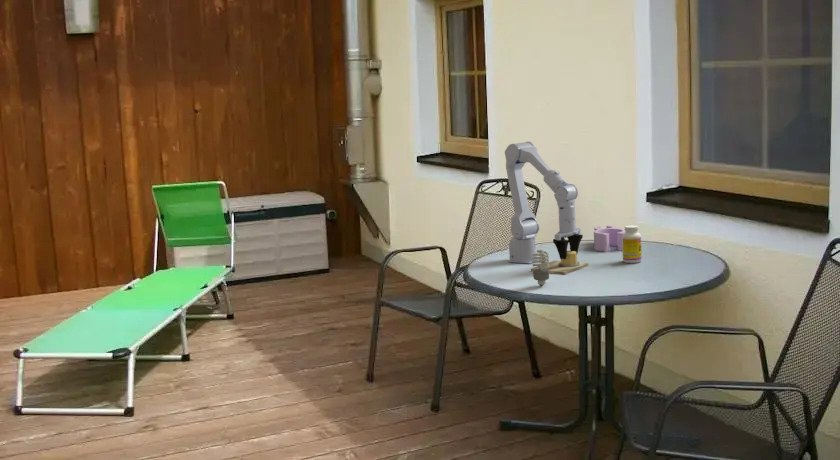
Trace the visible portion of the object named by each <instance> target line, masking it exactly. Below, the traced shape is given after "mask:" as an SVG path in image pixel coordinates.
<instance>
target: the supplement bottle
mask: <svg viewBox="0 0 840 460" xmlns="http://www.w3.org/2000/svg"><path fill="white" fill-rule="evenodd" d="M624 229H625V233H624V234H623V235H622V248H623V251H622V262H624V263H627V264H636V263H641V262H642V258H643V256H642V234H641V233H640V232H639V231H638V230H639V226H638V225H631V224H630V225H625V226H624Z"/></svg>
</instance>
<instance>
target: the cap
mask: <svg viewBox="0 0 840 460" xmlns="http://www.w3.org/2000/svg"><path fill="white" fill-rule="evenodd" d="M560 261H561V264H563V265H573V264H577V262H578V253H576V251H570V250H567V257H566V259H560Z"/></svg>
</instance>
